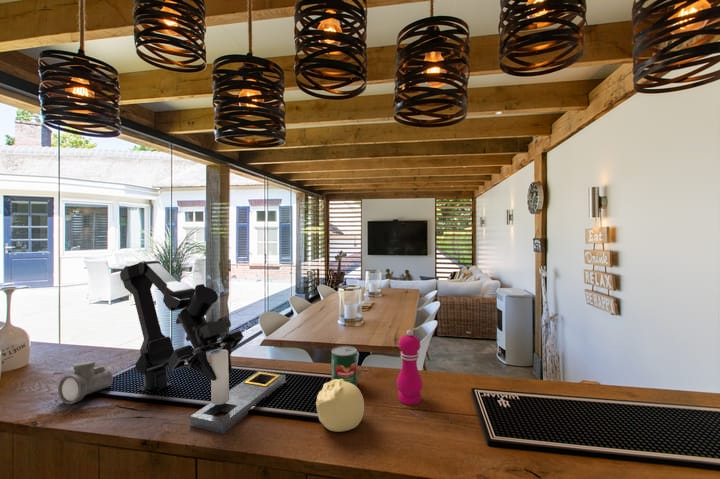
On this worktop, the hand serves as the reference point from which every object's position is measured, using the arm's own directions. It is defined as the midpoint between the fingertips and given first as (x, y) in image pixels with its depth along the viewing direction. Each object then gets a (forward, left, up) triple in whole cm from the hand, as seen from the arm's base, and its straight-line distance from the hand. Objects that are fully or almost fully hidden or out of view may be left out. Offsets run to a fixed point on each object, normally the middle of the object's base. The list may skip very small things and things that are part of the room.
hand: (223, 376), depth 88 cm
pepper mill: (+40, +30, -12) cm, 51 cm away
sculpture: (+28, +11, -12) cm, 32 cm away
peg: (-1, 0, -7) cm, 7 cm away
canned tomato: (+19, +30, -12) cm, 37 cm away
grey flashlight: (-47, -7, -12) cm, 49 cm away
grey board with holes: (-2, +9, -11) cm, 15 cm away
